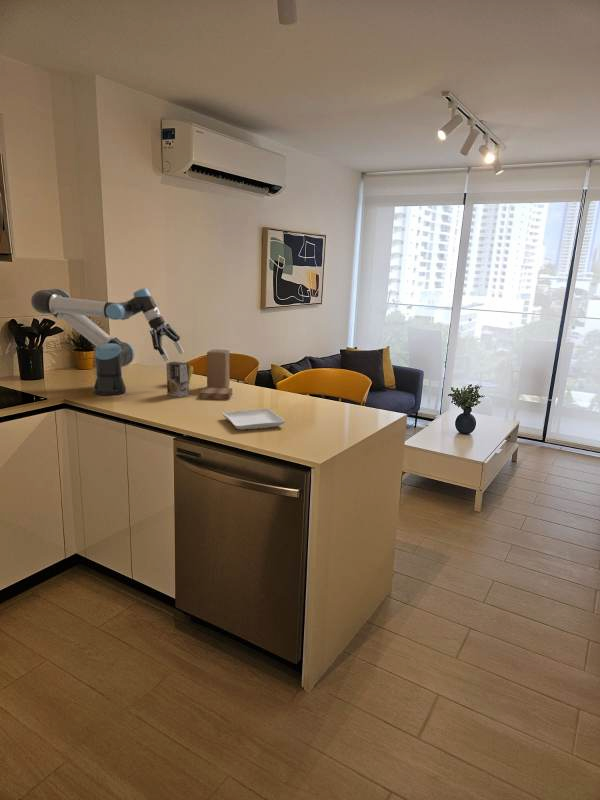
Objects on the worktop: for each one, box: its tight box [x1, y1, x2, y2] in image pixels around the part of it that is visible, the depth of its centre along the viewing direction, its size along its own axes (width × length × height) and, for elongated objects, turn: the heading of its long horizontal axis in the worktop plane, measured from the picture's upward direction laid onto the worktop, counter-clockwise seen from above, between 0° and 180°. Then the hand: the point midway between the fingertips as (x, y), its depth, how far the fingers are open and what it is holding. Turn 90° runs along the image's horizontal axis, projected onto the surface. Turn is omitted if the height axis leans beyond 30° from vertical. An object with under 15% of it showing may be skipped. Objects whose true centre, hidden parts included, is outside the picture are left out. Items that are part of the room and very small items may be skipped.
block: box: [206, 348, 231, 388], centre depth 282 cm, size 10×10×20 cm
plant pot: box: [188, 364, 194, 385], centre depth 290 cm, size 10×10×10 cm
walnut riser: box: [199, 387, 233, 400], centre depth 265 cm, size 14×12×3 cm
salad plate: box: [221, 408, 286, 431], centre depth 222 cm, size 21×21×3 cm
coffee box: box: [166, 361, 190, 398], centre depth 264 cm, size 9×6×16 cm
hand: (174, 356), depth 273 cm, fingers open, 13 cm apart
